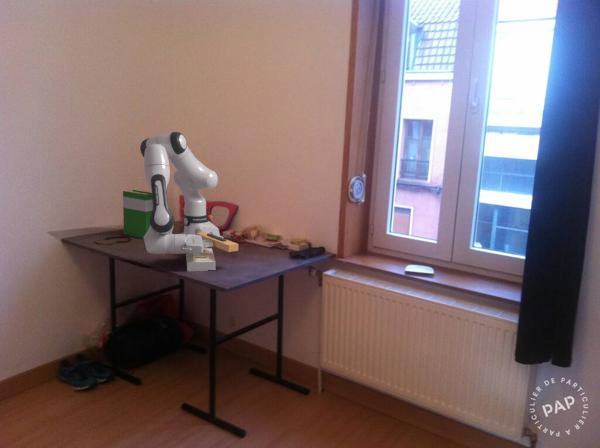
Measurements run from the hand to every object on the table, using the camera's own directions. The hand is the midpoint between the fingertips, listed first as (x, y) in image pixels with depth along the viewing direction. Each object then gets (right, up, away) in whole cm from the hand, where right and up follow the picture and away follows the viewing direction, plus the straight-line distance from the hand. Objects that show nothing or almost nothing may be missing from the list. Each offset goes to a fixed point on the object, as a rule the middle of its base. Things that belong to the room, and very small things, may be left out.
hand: (212, 243), depth 234 cm
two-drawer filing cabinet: (-7, -9, +6) cm, 12 cm away
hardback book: (-48, +2, +52) cm, 71 cm away
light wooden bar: (0, 0, +5) cm, 5 cm away
